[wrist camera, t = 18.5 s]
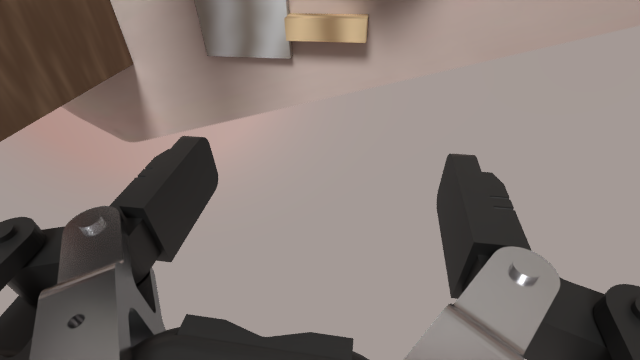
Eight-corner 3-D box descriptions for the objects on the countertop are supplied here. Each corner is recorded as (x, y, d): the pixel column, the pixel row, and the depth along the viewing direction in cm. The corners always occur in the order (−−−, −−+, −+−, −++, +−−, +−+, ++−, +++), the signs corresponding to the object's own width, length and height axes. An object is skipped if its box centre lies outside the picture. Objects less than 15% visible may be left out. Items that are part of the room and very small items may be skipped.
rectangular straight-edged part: (211, 53, 47) (203, 59, 45) (196, -11, 42) (186, -7, 40) (365, 58, 44) (364, 64, 42) (369, -11, 39) (368, -7, 37)
